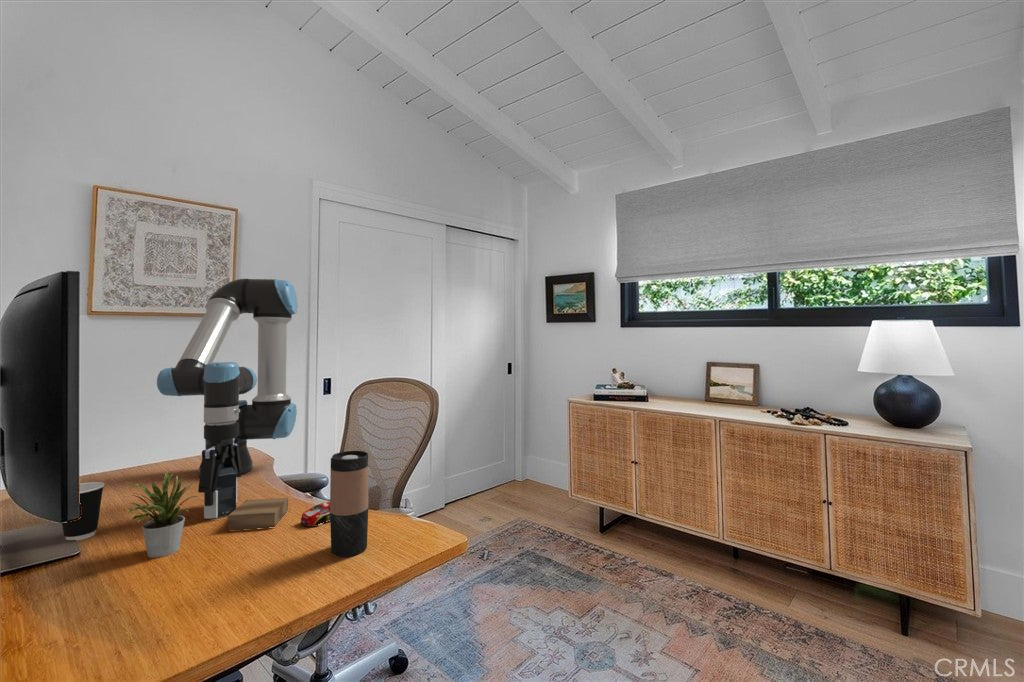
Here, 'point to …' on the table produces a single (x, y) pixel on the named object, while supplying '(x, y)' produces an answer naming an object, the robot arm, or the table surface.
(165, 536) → the house plant
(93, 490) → the dixie cup
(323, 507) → the race car
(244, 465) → the robot arm
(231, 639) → the table surface
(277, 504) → the walnut pedestal
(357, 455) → the travel mug
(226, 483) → the box
